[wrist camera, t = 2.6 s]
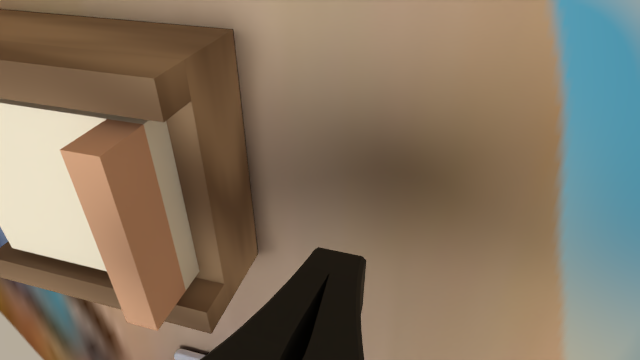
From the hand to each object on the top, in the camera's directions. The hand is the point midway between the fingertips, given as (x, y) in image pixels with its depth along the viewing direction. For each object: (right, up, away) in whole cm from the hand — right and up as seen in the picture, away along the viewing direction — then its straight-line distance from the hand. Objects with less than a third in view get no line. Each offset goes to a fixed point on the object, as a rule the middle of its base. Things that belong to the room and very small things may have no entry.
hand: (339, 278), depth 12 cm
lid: (-9, +3, +4) cm, 10 cm away
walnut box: (-8, +4, +6) cm, 11 cm away
